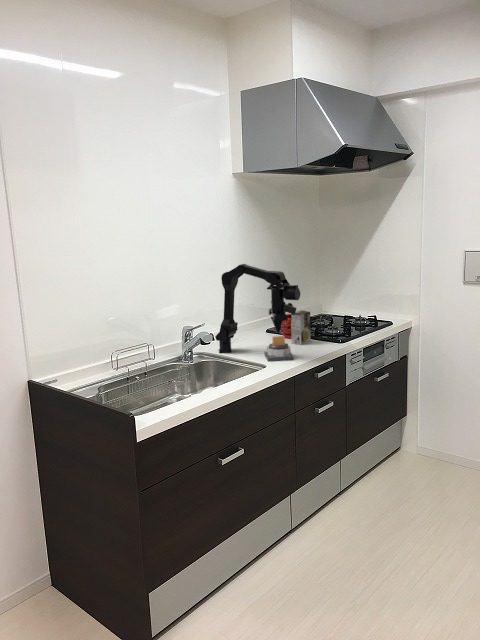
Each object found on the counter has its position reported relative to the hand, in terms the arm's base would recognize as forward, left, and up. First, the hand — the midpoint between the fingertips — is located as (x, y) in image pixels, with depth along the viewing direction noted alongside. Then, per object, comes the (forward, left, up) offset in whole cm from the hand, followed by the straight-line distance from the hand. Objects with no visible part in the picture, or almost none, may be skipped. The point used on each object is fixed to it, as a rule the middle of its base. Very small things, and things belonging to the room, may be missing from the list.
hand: (278, 332), depth 251 cm
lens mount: (0, 0, -12) cm, 12 cm away
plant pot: (-41, +14, -12) cm, 45 cm away
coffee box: (-27, +16, -12) cm, 34 cm away
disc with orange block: (0, 0, -9) cm, 9 cm away
